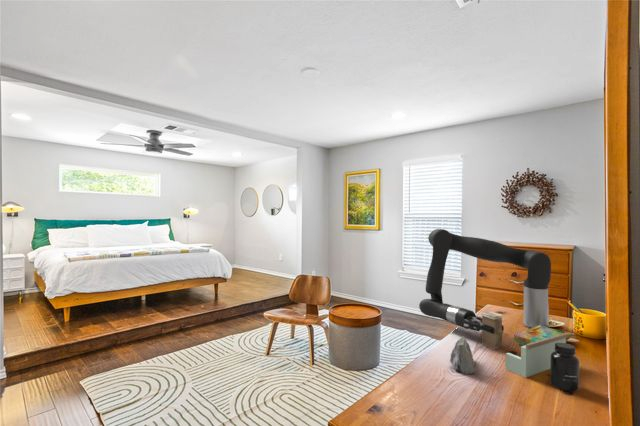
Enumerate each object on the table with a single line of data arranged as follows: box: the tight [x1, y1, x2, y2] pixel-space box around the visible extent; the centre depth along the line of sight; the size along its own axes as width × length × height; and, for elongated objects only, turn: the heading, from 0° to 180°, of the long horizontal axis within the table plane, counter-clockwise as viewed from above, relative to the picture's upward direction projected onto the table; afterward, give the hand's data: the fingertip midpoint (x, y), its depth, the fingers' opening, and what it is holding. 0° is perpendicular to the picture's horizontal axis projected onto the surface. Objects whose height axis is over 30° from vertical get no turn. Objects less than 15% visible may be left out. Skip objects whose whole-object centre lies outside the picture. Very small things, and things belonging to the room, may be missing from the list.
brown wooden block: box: [481, 311, 503, 350], centre depth 128 cm, size 5×5×12 cm
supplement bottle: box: [549, 342, 580, 393], centre depth 98 cm, size 7×7×12 cm
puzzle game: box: [513, 325, 573, 346], centre depth 131 cm, size 12×5×20 cm
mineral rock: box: [449, 335, 476, 375], centre depth 112 cm, size 13×11×10 cm
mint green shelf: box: [505, 332, 569, 378], centre depth 112 cm, size 22×9×10 cm, turn 117°
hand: (498, 329), depth 126 cm, fingers closed on brown wooden block, 4 cm apart
